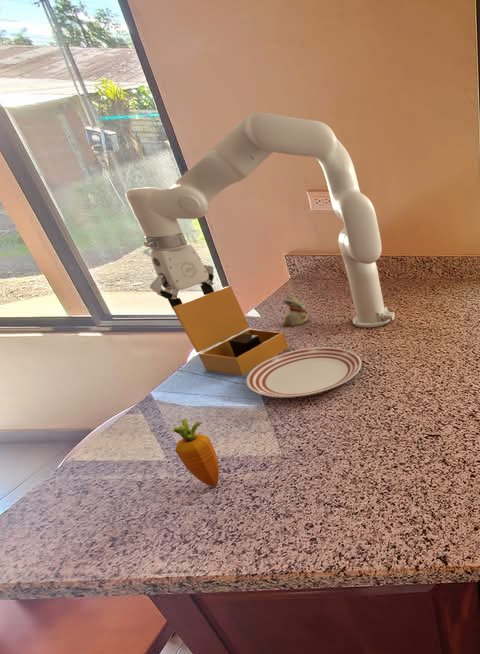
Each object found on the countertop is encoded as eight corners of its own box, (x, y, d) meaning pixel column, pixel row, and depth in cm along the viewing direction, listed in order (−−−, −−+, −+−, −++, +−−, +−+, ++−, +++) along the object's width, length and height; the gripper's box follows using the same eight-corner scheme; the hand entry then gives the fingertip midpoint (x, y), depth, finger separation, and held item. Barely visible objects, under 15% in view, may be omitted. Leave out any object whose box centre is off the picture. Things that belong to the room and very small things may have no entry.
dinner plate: (339, 346, 130) (336, 337, 129) (380, 380, 114) (378, 369, 112) (237, 377, 114) (233, 366, 112) (269, 421, 97) (264, 409, 96)
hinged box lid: (230, 285, 120) (215, 286, 122) (174, 307, 106) (157, 307, 107) (249, 327, 127) (234, 326, 128) (198, 352, 112) (182, 352, 114)
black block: (265, 355, 123) (257, 335, 120) (252, 363, 119) (243, 342, 115) (250, 353, 124) (242, 333, 120) (236, 361, 120) (228, 340, 116)
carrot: (208, 477, 82) (174, 414, 74) (235, 476, 82) (204, 413, 74) (193, 496, 78) (155, 432, 70) (221, 495, 78) (187, 431, 70)
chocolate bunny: (308, 324, 144) (300, 296, 139) (283, 327, 142) (273, 298, 137) (309, 318, 149) (301, 290, 143) (284, 321, 146) (275, 293, 141)
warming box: (289, 349, 128) (283, 332, 125) (243, 377, 114) (236, 359, 111) (255, 345, 130) (249, 328, 127) (206, 372, 116) (198, 353, 113)
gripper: (145, 251, 99) (179, 319, 108) (208, 234, 113) (233, 295, 122) (120, 249, 100) (155, 316, 109) (185, 233, 114) (212, 293, 124)
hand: (196, 305), depth 116 cm, fingers open, 9 cm apart
